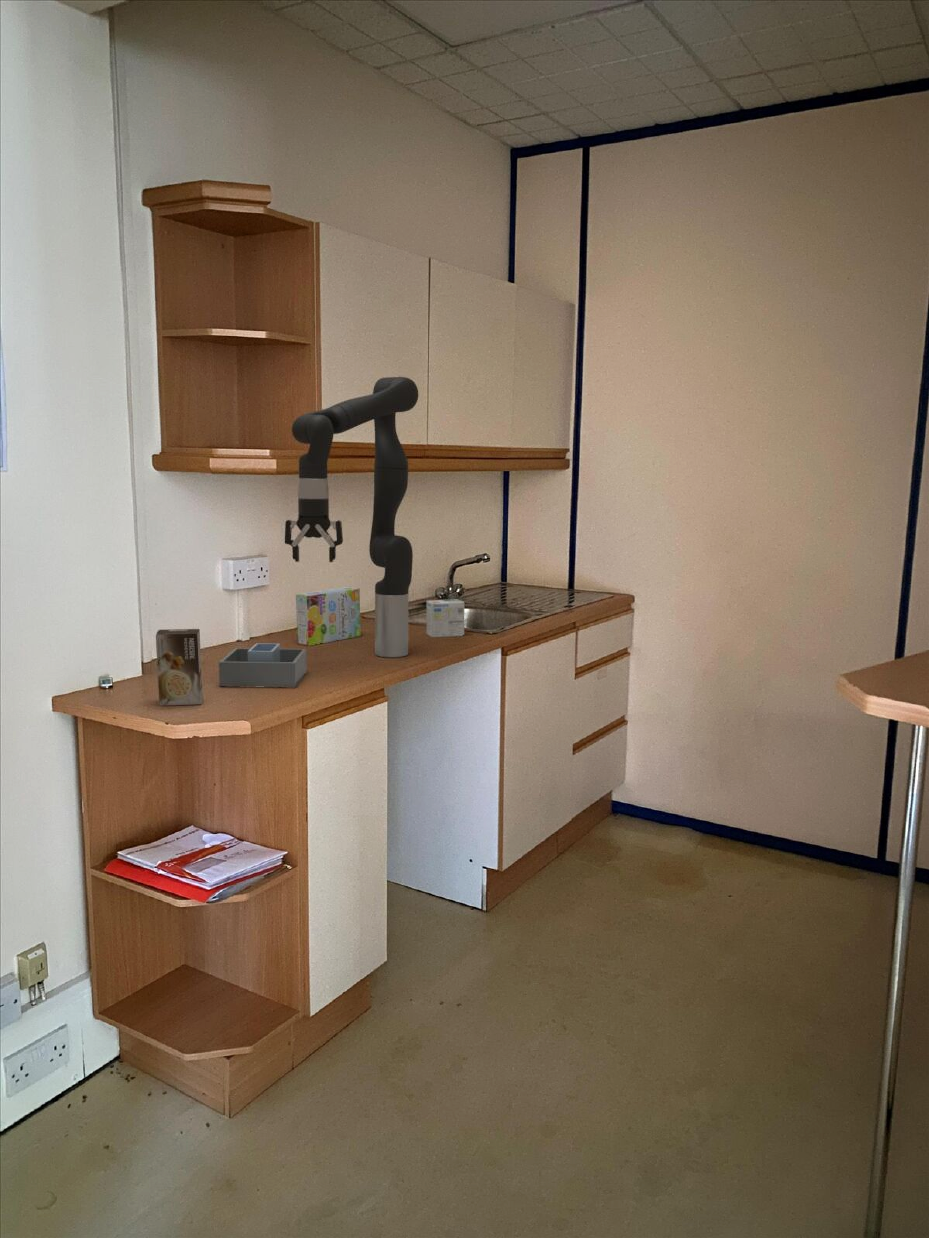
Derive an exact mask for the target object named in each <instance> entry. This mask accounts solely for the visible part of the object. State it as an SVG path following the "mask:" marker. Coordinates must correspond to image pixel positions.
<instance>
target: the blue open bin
mask: <svg viewBox="0 0 929 1238" xmlns="http://www.w3.org/2000/svg"><path fill="white" fill-rule="evenodd" d="M249 648H250V649H249V650H248V651H247V652H248V662H280V649H281V643H272V642H271V643H263V642H261V643H258V642H257V643H255V644H254V645H252V647H249Z"/></svg>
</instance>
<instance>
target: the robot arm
mask: <svg viewBox="0 0 929 1238" xmlns="http://www.w3.org/2000/svg"><path fill="white" fill-rule="evenodd" d="M418 401H419V389H418V386H417V384H416V383H415V382H414V380H413V379H411V378H409V377H405V376H392V377H391V376H390V377H388V376H387V377H382V378H379V379H378V380H377V381H376V382H375V383H374V386H373V391H372V394H371V393H370V394H367V395H364V396H358V397H354V398H350V399H347V400H344V401H341V402H339V403H336V404H334V405H331V406H329V407H327V408H324V409H318V410H315V411H312V412H311V411H310V412H308V413H305V414H301V415H299V416H298V417H296V419H294V421H293V423H292V425H291V433H292V436H293V439H295V440H296V441H297V442H299V443H301V444H303V445H304V444H305V445H309V447H308V451H307V452H306V453H304V454H302V455H300V456H299V458H298V484H297V485H298V486H297V501H298V506H297V507H298V508H297V510H298V513H297V514H298V517H297V520H292V519H287V520H286V521H285V522H284V524H285V525H284V526H285V528H284V544H286V545H289V546H290V547H291V548H292V549H291V550H292V559H293V560H294V561H295V563H296V562H297V563H299V562H300V546H299V544H300V542H301V541H302V540H303V539H304V537H306V538H309V539H310V538H316V539H321V538H323V539H324V540H325V542H327V544H328V545H329V548H328V551H329V553H328V560H329V561H328V562H329V563H333V562H334V561H335V559H336V558H337V556H336V555H337V553H336V552H337V551H336V547H337V546H341V545H342V544H343V542H344V537H343V525H342V524H343V523H342V520H340V519H338V520H335V521H334V520H332V521H331V519H330V514H329V513H330V510H329V509H330V504H329V502H330V500H329V496H330V493H329V490H330V489H329V482H328V461H329V456H330V453H331V450H332V445H333V440H334V435H338V434H342V433H345V432H347V431H350V430H351V429H354V428H357V427H359V426H360V425H363V424H366V423H368V422H370V421H373V425H374V467H373V506H372V507H373V508H372V509H373V510H372V512H373V513H372V522H371V531H370V538H369V547H368V548H369V549H368V550H369V557H370V560H371V562H372V563H373V564H374V565H375V566H376V567H379V568H384V577H383V578H382V579H381V580H379V581H377V582H376V583H375V585H374V655H375V656H378V657H381V658H401V657H406V656H408V655H409V589H410V585H411V583H412V580H413V579H412V575H413V558H414V557H413V556H414V555H413V547H412V543H411V542H410V540H409V539H408V538H407V537H405V536H402V535H396V534H395V528H396V527H395V525H396V515H397V512H398V510H399V507H400V506H401V504H402V501H403V499H404V497H405V496H406V492H407V489H408V484H409V460H408V458H407V454H406V452H405V450H404V448H403V445H402V443H401V442H400V439H399V437H398V434H397V427H396V413H405V412H409V411H410V410H411V411H412V410H413V408H414V407H415V406H416V404H417V403H418ZM295 526H296V527H298V529H299V531H300V532H299V533H298V534H297V536H296V537H295V539H294V540H293V539H292V532H293V529H295ZM330 527H332V529H333V530H335V533H336V540H334V539H333V537H332V536H331V534H330V533H329V532H328V530H329V529H330Z"/></svg>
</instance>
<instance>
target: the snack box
mask: <svg viewBox="0 0 929 1238" xmlns="http://www.w3.org/2000/svg"><path fill="white" fill-rule="evenodd" d="M360 591H361V589H360V588H359V587H355V586H354V587H353V586H345V587H337V588H330V589H324V590H316V591H310V592H304V593H295V612H296V613H295V614H296V615H295V616H296V617H295V618H296V642H297V643H300V644H299V645H301V644H303V645H302V646H307V647H310V646H311V645H312V646H316V645H315V644H317V645H320V643H322V644H327V643H333V642H337V640H338V641H342V640H347V639H352V638H358V637H361V634H362V633H361V593H360Z"/></svg>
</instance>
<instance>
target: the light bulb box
mask: <svg viewBox="0 0 929 1238" xmlns="http://www.w3.org/2000/svg"><path fill="white" fill-rule="evenodd" d="M425 604H426V635H427V636H429V637H431V638H432V639H433V638H448V637H464V636H465V601H463V600H461V599H457V598H455V599H438V600H436V599H435V600H426V603H425ZM463 635H464V636H463Z"/></svg>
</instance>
